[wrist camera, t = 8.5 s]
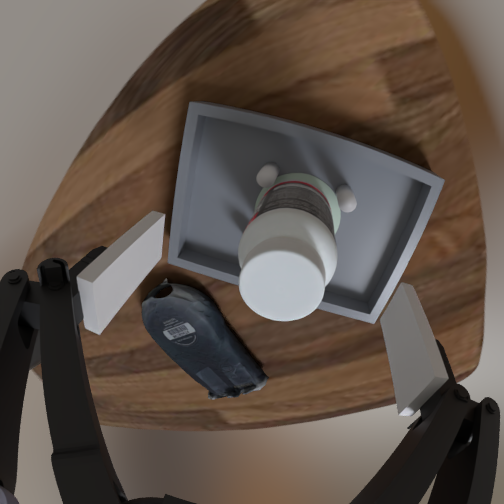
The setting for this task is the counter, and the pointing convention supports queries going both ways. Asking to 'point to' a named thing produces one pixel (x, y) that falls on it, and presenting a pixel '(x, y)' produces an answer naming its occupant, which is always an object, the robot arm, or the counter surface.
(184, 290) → the electronic device
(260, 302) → the pill bottle
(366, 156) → the tray
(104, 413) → the counter surface
